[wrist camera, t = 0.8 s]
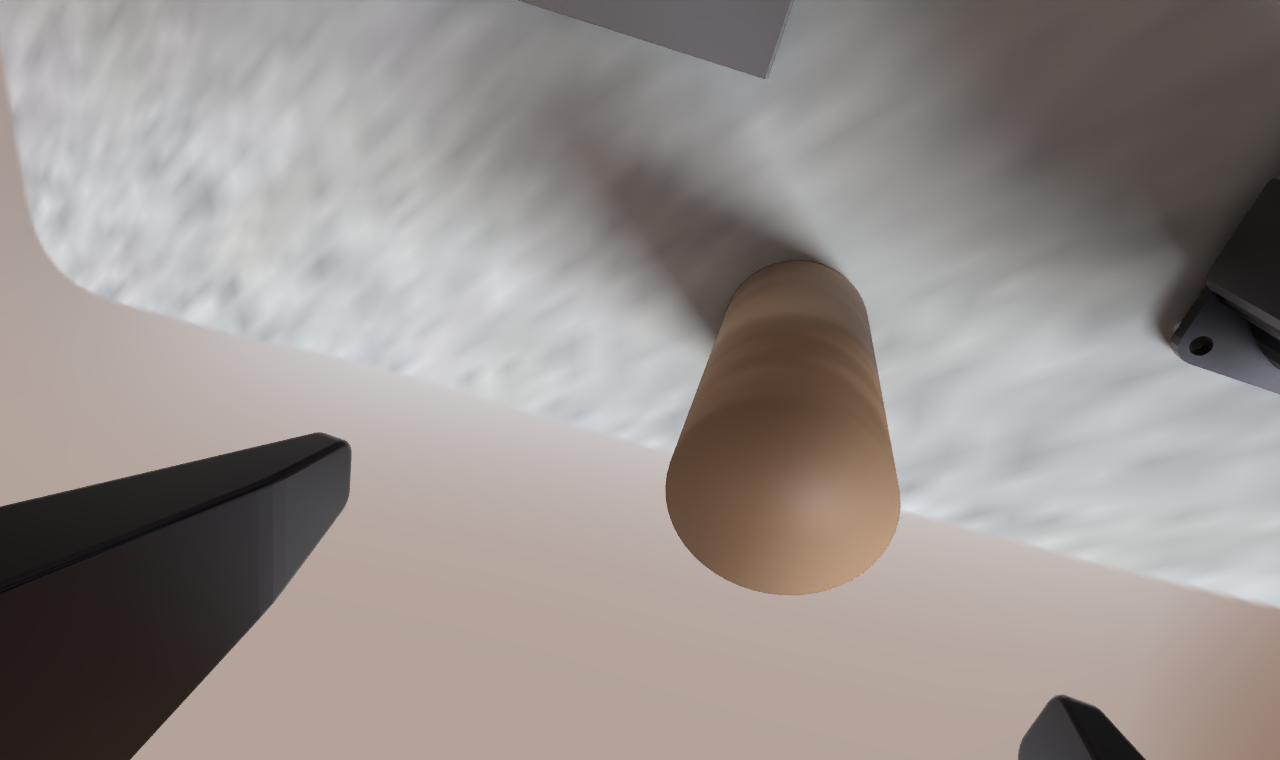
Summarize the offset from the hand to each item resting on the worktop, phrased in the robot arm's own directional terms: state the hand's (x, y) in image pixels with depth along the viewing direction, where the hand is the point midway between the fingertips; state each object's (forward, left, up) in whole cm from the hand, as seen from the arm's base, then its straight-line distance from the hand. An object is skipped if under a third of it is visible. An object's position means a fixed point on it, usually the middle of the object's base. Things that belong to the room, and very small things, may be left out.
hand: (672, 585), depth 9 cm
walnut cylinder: (-1, +1, -13) cm, 13 cm away
